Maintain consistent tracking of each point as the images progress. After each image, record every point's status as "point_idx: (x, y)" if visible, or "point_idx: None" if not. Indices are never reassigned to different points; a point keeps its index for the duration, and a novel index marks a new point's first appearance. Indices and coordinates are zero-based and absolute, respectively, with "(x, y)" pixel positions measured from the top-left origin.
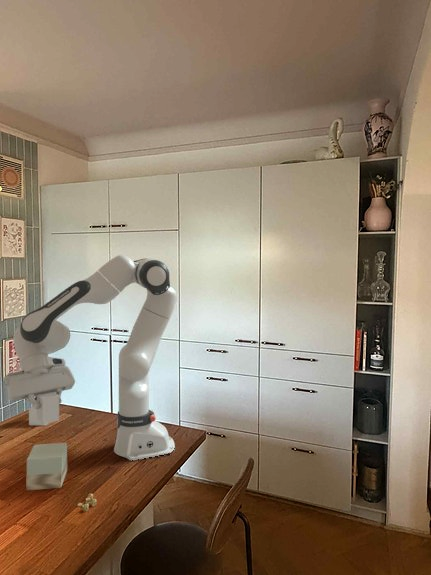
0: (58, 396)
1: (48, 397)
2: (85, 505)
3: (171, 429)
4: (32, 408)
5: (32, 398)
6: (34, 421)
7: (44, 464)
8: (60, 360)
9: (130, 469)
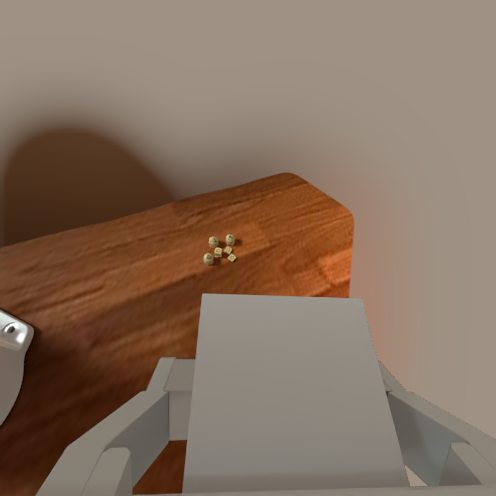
0: (208, 297)
1: (305, 310)
2: (231, 238)
3: None
4: None
5: (459, 425)
6: None
7: None
8: None
9: (75, 296)
